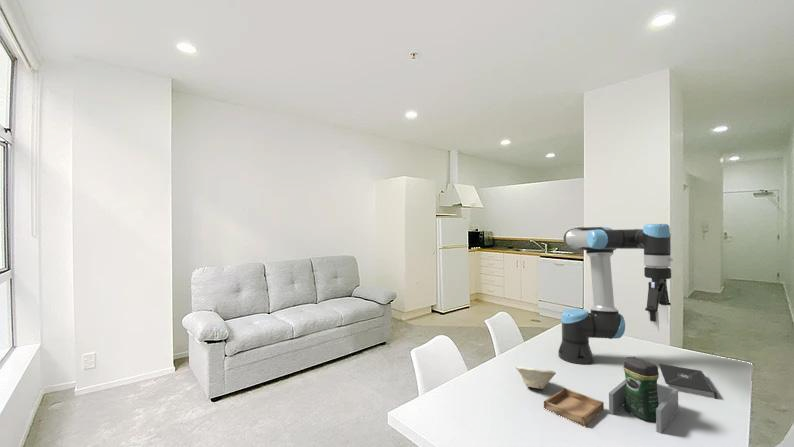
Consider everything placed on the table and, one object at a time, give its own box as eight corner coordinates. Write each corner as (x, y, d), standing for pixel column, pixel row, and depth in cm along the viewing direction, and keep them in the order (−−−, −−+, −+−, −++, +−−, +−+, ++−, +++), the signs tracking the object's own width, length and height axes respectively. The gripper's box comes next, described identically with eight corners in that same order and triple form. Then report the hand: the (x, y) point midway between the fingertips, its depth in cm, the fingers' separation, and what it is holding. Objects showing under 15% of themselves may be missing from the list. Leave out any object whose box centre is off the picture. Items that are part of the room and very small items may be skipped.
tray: (543, 409, 117) (543, 401, 117) (564, 394, 127) (564, 387, 127) (584, 426, 106) (584, 418, 106) (603, 410, 116) (603, 402, 116)
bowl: (555, 383, 136) (555, 359, 136) (556, 399, 124) (555, 372, 124) (517, 376, 143) (517, 353, 143) (514, 391, 130) (513, 366, 130)
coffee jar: (665, 420, 110) (663, 364, 110) (646, 424, 108) (645, 366, 108) (637, 405, 119) (636, 353, 119) (619, 408, 117) (618, 355, 117)
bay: (609, 413, 114) (608, 392, 114) (630, 393, 127) (630, 375, 127) (661, 433, 103) (660, 410, 103) (678, 409, 116) (678, 389, 116)
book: (717, 400, 123) (717, 392, 123) (666, 390, 130) (666, 383, 130) (702, 377, 141) (702, 370, 141) (658, 370, 149) (658, 363, 149)
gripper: (662, 270, 107) (663, 336, 106) (678, 265, 123) (679, 322, 123) (634, 268, 113) (635, 331, 112) (653, 263, 129) (654, 318, 128)
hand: (658, 326), depth 117 cm, fingers open, 13 cm apart
